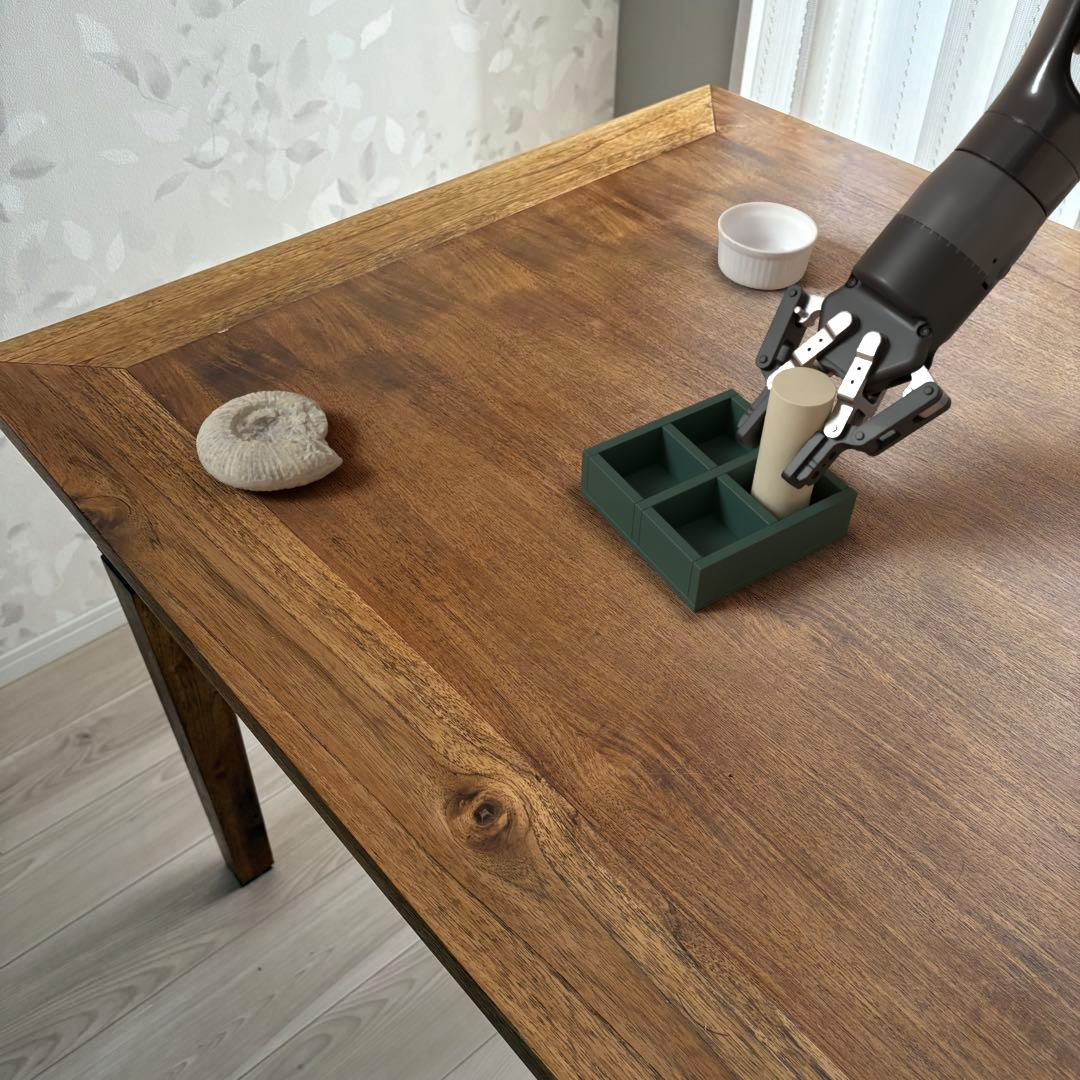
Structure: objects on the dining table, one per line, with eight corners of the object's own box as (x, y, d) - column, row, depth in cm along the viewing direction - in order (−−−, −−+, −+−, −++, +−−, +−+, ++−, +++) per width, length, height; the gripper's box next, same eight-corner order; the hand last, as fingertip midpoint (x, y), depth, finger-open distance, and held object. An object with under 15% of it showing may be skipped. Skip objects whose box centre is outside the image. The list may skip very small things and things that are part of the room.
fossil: (365, 420, 80) (252, 499, 75) (374, 456, 82) (266, 534, 78) (272, 352, 85) (162, 423, 81) (284, 388, 88) (178, 458, 84)
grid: (846, 535, 77) (858, 492, 75) (693, 612, 72) (700, 570, 70) (725, 430, 85) (732, 387, 82) (580, 493, 80) (582, 450, 77)
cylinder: (820, 507, 76) (850, 392, 69) (776, 529, 75) (801, 413, 68) (782, 474, 79) (806, 359, 72) (738, 494, 77) (758, 379, 70)
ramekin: (762, 233, 106) (769, 191, 103) (830, 274, 101) (840, 232, 98) (692, 261, 102) (697, 219, 99) (759, 306, 97) (766, 263, 94)
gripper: (844, 170, 70) (672, 387, 74) (1022, 276, 62) (817, 513, 66) (886, 223, 76) (724, 421, 80) (1054, 327, 67) (864, 542, 71)
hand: (767, 462), depth 73 cm, fingers closed on cylinder, 4 cm apart
